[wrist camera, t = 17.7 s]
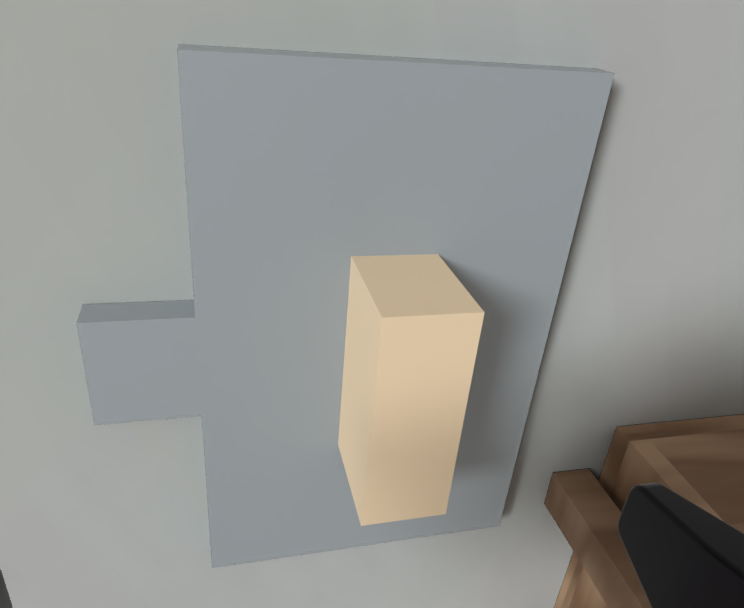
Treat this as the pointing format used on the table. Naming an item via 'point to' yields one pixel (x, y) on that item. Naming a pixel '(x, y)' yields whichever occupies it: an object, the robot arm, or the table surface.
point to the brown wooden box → (608, 495)
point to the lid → (356, 289)
